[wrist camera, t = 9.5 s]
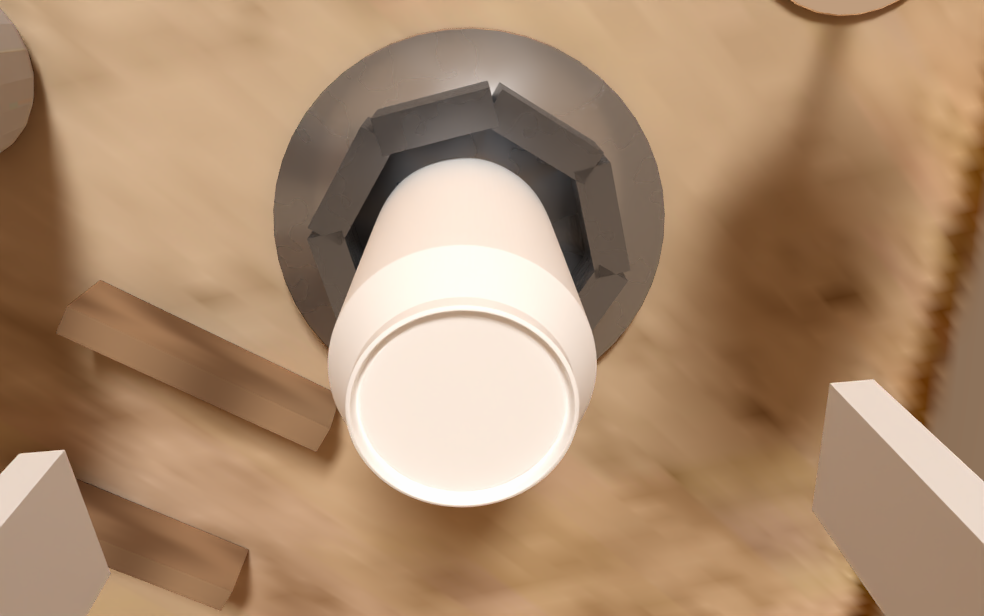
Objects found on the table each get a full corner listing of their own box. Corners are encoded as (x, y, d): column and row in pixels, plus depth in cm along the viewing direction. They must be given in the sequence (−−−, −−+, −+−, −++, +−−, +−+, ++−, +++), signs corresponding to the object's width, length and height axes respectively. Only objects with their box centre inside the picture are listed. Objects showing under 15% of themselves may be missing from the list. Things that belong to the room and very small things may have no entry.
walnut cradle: (16, 478, 31) (-20, 517, 28) (100, 280, 27) (66, 306, 25) (238, 567, 33) (220, 610, 31) (340, 395, 30) (330, 428, 27)
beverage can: (529, 328, 28) (572, 548, 17) (366, 301, 27) (298, 512, 16) (567, 169, 25) (646, 303, 14) (390, 135, 25) (329, 248, 14)
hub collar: (219, 291, 28) (192, 324, 25) (392, -61, 23) (382, -68, 20) (529, 444, 31) (535, 488, 28) (734, 162, 26) (765, 182, 24)
